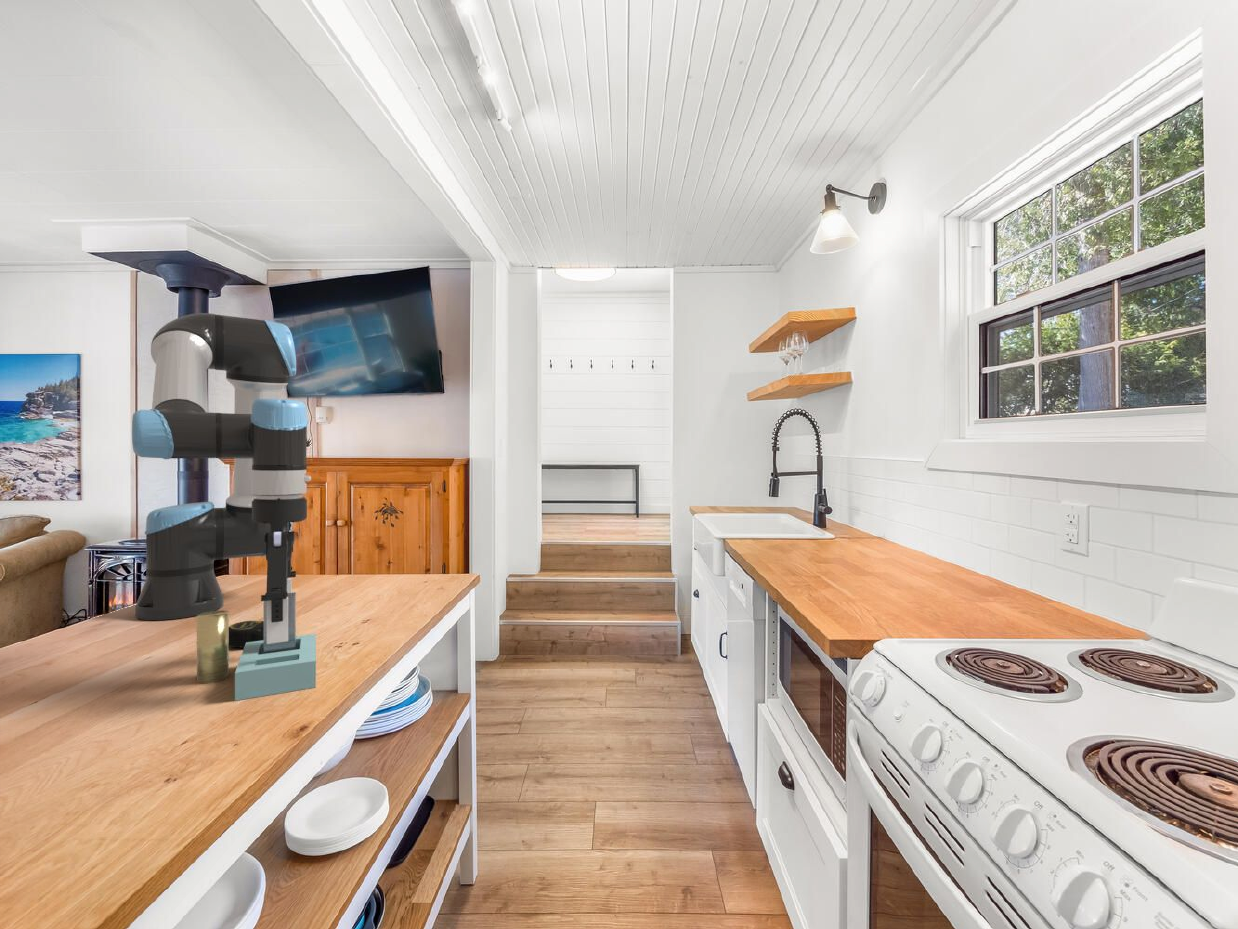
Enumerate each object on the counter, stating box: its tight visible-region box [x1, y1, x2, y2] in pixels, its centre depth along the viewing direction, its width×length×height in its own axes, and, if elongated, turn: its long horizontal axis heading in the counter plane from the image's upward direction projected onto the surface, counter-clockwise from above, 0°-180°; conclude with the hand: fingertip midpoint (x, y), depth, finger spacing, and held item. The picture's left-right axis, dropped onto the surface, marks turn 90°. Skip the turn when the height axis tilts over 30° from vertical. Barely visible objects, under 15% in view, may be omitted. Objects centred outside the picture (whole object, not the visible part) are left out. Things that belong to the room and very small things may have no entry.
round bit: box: [196, 609, 230, 684], centre depth 86 cm, size 4×4×10 cm
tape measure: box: [229, 620, 264, 648], centre depth 101 cm, size 7×7×4 cm
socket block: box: [234, 633, 317, 702], centre depth 87 cm, size 14×10×4 cm
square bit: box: [262, 591, 297, 654], centre depth 89 cm, size 4×4×12 cm
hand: (280, 629), depth 89 cm, fingers open, 13 cm apart
